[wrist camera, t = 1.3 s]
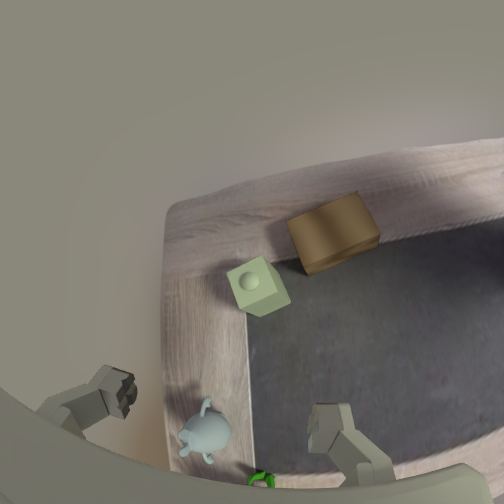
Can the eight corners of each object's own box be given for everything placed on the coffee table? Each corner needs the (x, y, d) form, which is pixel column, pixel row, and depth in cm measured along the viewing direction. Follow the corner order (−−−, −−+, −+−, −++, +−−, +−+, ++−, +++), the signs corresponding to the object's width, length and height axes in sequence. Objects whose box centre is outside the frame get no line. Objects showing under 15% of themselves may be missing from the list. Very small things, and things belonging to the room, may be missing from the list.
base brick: (356, 208, 41) (356, 191, 36) (377, 247, 38) (380, 233, 33) (292, 235, 43) (285, 221, 38) (308, 276, 40) (303, 266, 35)
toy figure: (203, 391, 38) (155, 399, 28) (241, 393, 37) (200, 407, 26) (205, 451, 35) (160, 475, 24) (243, 457, 33) (205, 487, 22)
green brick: (278, 272, 41) (260, 253, 34) (291, 302, 39) (276, 290, 31) (248, 286, 42) (224, 271, 34) (259, 317, 40) (238, 308, 32)
